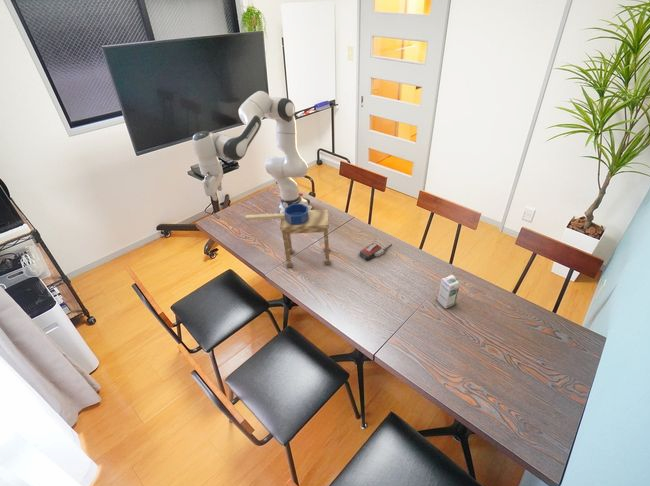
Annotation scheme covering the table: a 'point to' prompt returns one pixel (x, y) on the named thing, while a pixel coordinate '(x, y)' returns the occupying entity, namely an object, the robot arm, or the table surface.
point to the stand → (306, 231)
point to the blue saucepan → (286, 215)
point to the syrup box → (448, 291)
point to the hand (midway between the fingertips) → (217, 194)
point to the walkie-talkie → (372, 251)
